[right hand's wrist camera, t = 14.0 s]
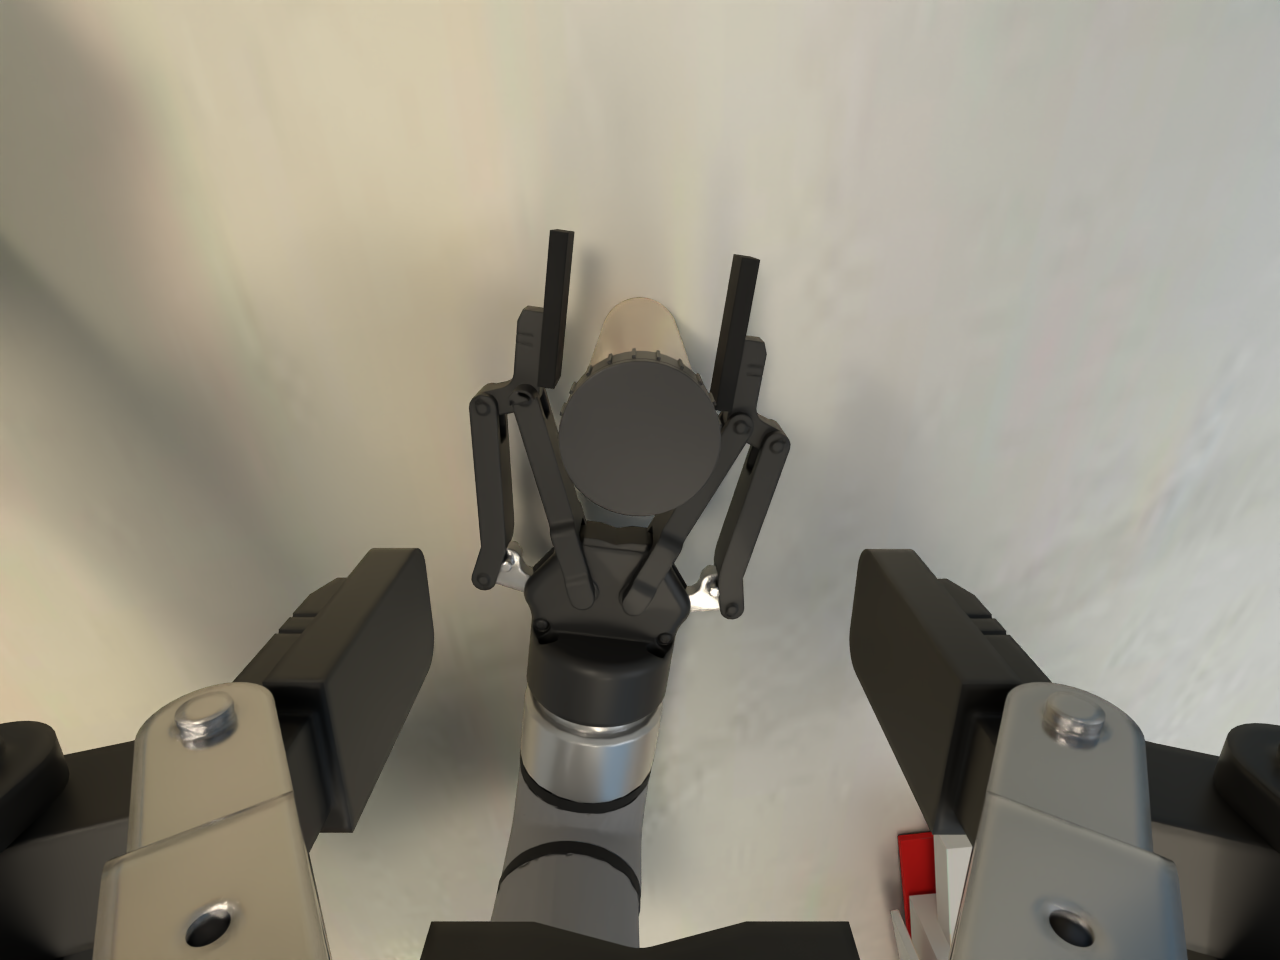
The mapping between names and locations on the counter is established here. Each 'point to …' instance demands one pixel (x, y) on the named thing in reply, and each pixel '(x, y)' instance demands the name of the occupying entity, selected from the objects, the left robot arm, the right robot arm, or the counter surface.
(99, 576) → the counter surface
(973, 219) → the counter surface
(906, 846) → the toy
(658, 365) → the lid
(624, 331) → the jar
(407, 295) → the counter surface
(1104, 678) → the counter surface
